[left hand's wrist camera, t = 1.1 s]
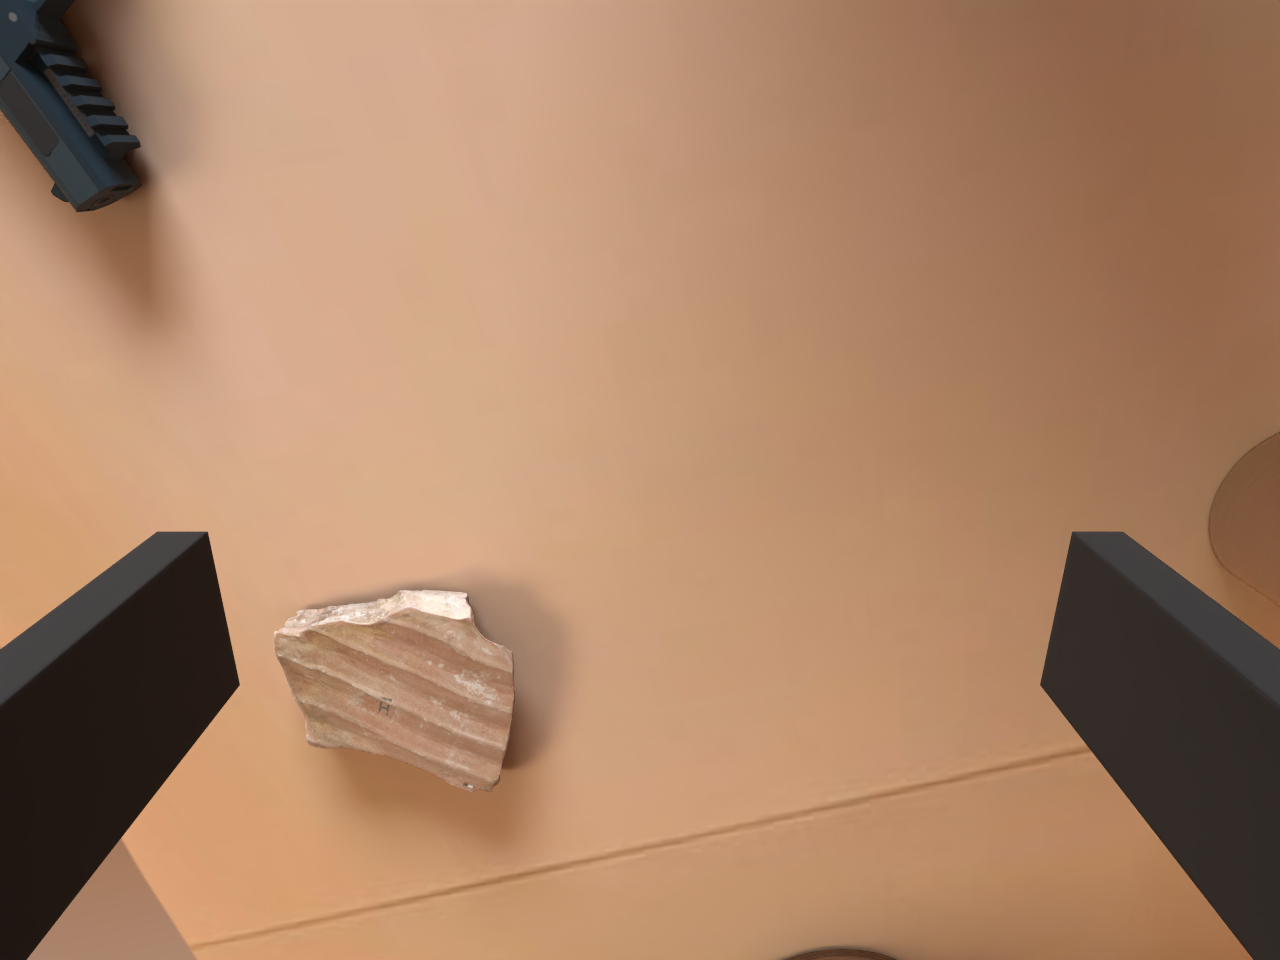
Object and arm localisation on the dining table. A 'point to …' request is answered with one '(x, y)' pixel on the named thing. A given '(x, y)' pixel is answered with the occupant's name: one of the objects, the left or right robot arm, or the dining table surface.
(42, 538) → the dining table surface
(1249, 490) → the jar
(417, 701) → the stone
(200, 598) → the left robot arm
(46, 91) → the handgun
